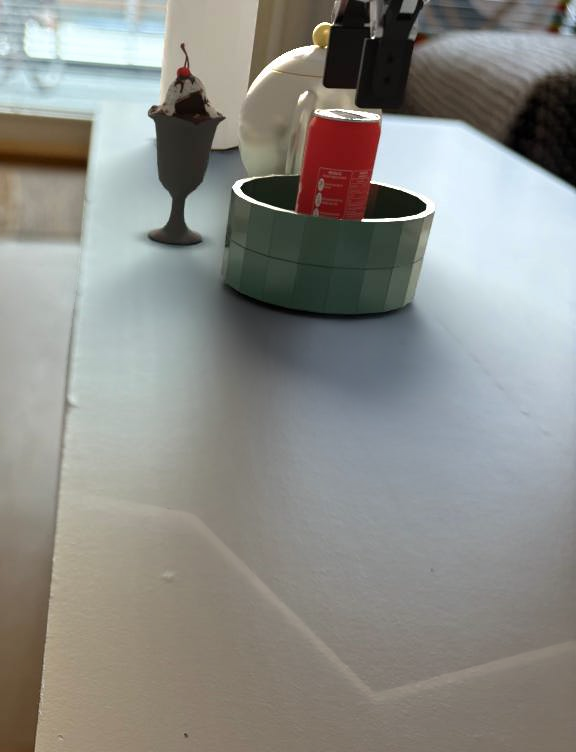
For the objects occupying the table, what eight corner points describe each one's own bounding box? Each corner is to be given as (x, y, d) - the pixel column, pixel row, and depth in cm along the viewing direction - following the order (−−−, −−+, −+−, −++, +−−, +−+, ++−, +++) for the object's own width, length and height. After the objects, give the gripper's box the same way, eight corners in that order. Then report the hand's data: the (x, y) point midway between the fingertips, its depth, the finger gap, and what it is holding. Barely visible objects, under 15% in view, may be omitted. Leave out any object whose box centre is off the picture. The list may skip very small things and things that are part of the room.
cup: (206, 133, 134) (223, -30, 123) (257, 148, 126) (281, -24, 115) (139, 136, 129) (151, -33, 118) (188, 153, 121) (206, -26, 110)
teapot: (240, 190, 106) (264, 11, 96) (367, 205, 103) (404, 23, 93) (209, 228, 92) (233, 24, 82) (354, 247, 89) (397, 38, 79)
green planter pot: (382, 265, 85) (401, 178, 80) (437, 324, 73) (464, 225, 68) (209, 258, 84) (220, 169, 80) (236, 316, 72) (250, 215, 67)
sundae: (162, 223, 92) (179, 39, 83) (224, 237, 89) (247, 47, 81) (124, 236, 88) (136, 43, 79) (187, 251, 85) (208, 52, 76)
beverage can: (307, 294, 75) (338, 121, 68) (271, 275, 79) (298, 108, 72) (362, 289, 77) (398, 120, 70) (325, 270, 81) (355, 108, 73)
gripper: (526, -234, 53) (449, 118, 63) (427, -202, 67) (378, 83, 77) (390, -239, 53) (336, 116, 63) (319, -206, 67) (284, 80, 77)
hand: (359, 97), depth 70 cm, fingers open, 9 cm apart
